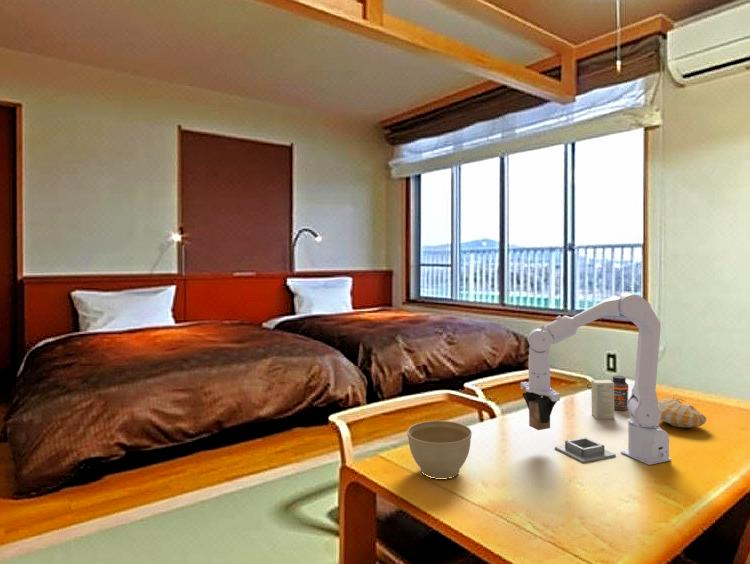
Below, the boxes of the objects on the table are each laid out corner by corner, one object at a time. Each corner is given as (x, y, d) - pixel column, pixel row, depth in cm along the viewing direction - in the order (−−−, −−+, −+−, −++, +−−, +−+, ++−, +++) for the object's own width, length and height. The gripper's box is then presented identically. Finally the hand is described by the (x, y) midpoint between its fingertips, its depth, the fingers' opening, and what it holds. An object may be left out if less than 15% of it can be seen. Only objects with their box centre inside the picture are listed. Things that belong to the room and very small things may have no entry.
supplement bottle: (610, 410, 181) (610, 378, 180) (608, 405, 186) (608, 374, 186) (629, 411, 179) (629, 379, 178) (626, 406, 185) (626, 375, 184)
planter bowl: (398, 466, 138) (397, 425, 137) (452, 456, 143) (451, 417, 143) (425, 491, 122) (424, 446, 122) (484, 479, 128) (484, 436, 128)
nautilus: (659, 412, 179) (710, 422, 170) (645, 425, 162) (702, 437, 153) (661, 389, 179) (712, 398, 169) (647, 400, 162) (704, 411, 153)
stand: (615, 456, 141) (615, 447, 140) (583, 463, 137) (583, 453, 137) (586, 443, 151) (586, 434, 151) (554, 448, 147) (554, 439, 147)
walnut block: (550, 428, 146) (550, 403, 145) (538, 430, 144) (538, 405, 144) (540, 423, 149) (540, 399, 149) (529, 425, 148) (529, 401, 148)
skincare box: (610, 415, 176) (610, 379, 175) (614, 419, 171) (615, 382, 171) (590, 414, 176) (590, 379, 176) (595, 419, 172) (595, 382, 171)
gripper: (511, 368, 151) (512, 414, 152) (544, 379, 138) (544, 430, 138) (532, 366, 154) (532, 411, 154) (566, 376, 140) (566, 426, 141)
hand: (539, 420), depth 147 cm, fingers closed on walnut block, 4 cm apart
